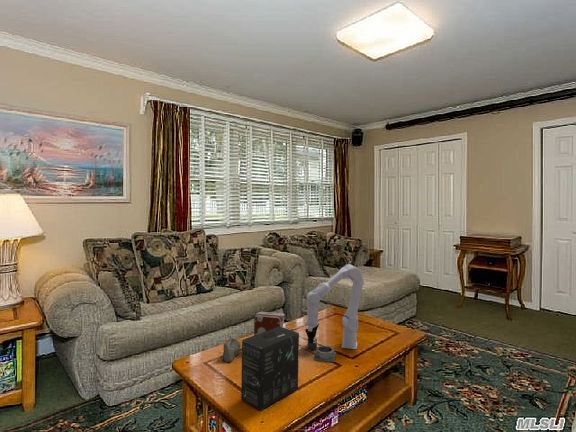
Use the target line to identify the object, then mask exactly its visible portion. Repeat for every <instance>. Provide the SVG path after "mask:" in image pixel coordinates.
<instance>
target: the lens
mask: <svg viewBox="0 0 576 432" xmlns="http://www.w3.org/2000/svg"><path fill="white" fill-rule="evenodd" d="M306 347H307V350H308V351H312V352H314V351H315V352H316V348H317V347H318V339H317V338H316V337H315V338H314V340H313V343H309V341H308V339H307V346H306Z"/></svg>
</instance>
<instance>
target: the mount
mask: <svg viewBox="0 0 576 432" xmlns="http://www.w3.org/2000/svg"><path fill="white" fill-rule="evenodd" d="M336 355H337V352H336V351H335V348H333V347H332V346H331V345H323V344H322V345H319V346H318V345H317V348H316V350H315V353H314V356H313V361H317V362H325V363H335V359H336Z"/></svg>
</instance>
